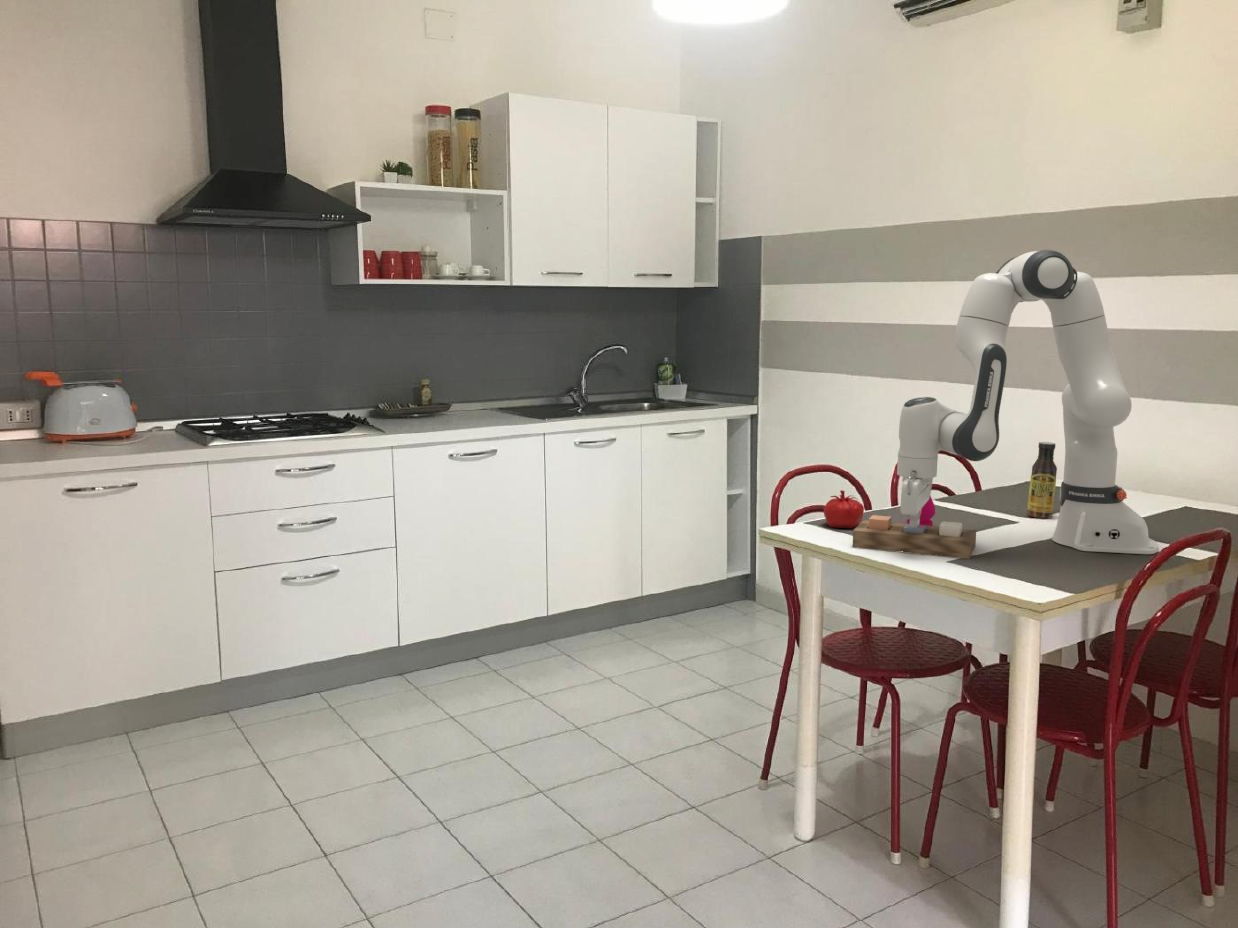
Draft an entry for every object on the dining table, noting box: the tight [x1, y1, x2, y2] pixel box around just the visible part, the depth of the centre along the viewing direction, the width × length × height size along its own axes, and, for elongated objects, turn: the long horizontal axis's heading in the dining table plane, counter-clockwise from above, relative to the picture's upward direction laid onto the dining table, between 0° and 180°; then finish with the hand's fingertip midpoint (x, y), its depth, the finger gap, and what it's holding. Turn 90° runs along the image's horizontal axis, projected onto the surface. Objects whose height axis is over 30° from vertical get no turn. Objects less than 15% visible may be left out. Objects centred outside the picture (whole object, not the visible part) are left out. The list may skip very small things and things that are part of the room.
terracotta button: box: [868, 514, 892, 530], centre depth 237 cm, size 4×4×4 cm
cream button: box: [939, 520, 963, 537], centre depth 230 cm, size 4×4×4 cm
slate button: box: [903, 523, 926, 534], centre depth 234 cm, size 4×4×4 cm
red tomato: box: [823, 490, 865, 529], centre depth 255 cm, size 10×10×9 cm
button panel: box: [852, 519, 977, 560], centre depth 234 cm, size 26×12×4 cm, turn 65°
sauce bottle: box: [1026, 441, 1058, 519], centre depth 264 cm, size 6×6×20 cm
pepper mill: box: [906, 494, 936, 526], centre depth 252 cm, size 7×7×20 cm
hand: (914, 526), depth 233 cm, fingers closed, pressing on slate button
